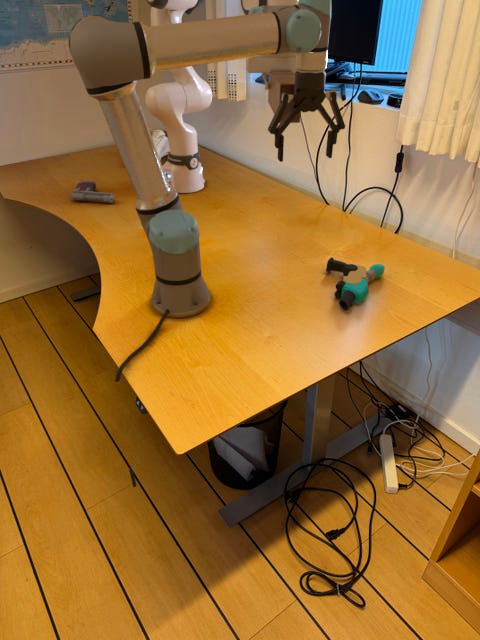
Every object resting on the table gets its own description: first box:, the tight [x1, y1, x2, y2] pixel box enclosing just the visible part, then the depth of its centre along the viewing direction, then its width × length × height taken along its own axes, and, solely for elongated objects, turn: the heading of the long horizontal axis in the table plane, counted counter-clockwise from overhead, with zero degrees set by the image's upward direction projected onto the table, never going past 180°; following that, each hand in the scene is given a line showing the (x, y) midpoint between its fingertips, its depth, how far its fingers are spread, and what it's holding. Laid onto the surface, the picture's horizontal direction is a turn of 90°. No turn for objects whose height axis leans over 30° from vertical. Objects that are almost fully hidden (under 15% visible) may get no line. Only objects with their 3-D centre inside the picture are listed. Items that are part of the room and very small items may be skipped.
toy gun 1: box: [69, 180, 115, 204], centre depth 185 cm, size 4×19×15 cm
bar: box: [267, 71, 302, 124], centre depth 135 cm, size 25×6×10 cm, turn 4°
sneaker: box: [151, 129, 170, 161], centre depth 220 cm, size 10×29×12 cm, turn 163°
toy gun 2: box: [325, 257, 386, 312], centre depth 129 cm, size 4×26×15 cm
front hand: (304, 158), depth 128 cm, fingers open, 13 cm apart
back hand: (279, 89), depth 142 cm, fingers closed on bar, 6 cm apart
